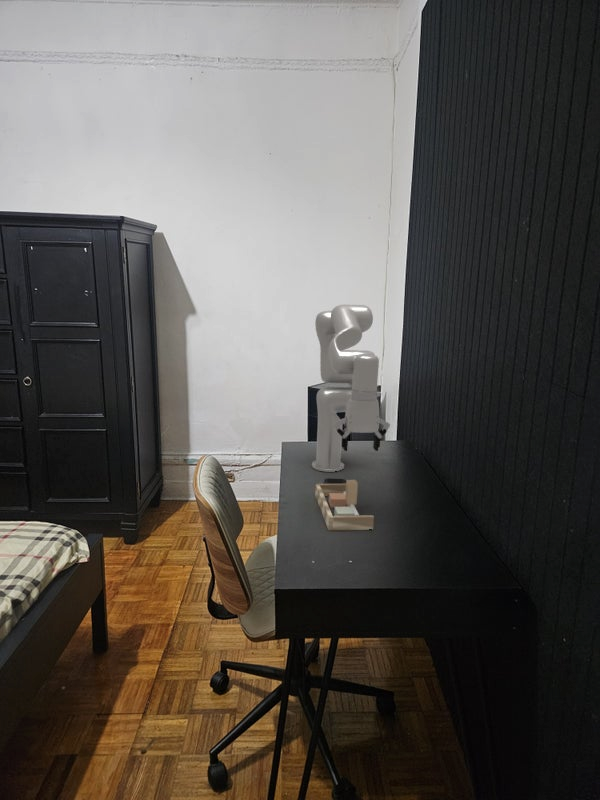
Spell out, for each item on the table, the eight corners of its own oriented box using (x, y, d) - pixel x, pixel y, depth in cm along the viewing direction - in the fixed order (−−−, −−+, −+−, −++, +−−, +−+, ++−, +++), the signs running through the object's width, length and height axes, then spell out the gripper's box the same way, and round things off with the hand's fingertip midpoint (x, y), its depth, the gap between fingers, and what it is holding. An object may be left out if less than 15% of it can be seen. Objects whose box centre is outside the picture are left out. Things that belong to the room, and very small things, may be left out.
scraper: (340, 500, 177) (341, 471, 175) (349, 500, 178) (350, 471, 176) (351, 524, 160) (353, 492, 158) (361, 523, 160) (363, 492, 158)
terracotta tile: (328, 501, 176) (328, 493, 175) (343, 501, 176) (343, 493, 176) (330, 508, 171) (331, 499, 170) (345, 508, 171) (346, 499, 171)
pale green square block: (334, 515, 165) (334, 506, 165) (349, 515, 166) (350, 506, 165) (337, 523, 160) (337, 513, 160) (353, 522, 161) (354, 513, 160)
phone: (345, 479, 194) (348, 495, 179) (345, 482, 194) (348, 498, 180) (324, 478, 194) (325, 494, 180) (324, 481, 194) (325, 497, 180)
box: (315, 495, 180) (315, 483, 179) (353, 494, 182) (354, 483, 181) (328, 530, 155) (329, 517, 154) (373, 529, 156) (373, 516, 156)
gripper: (388, 393, 166) (384, 445, 169) (333, 392, 164) (330, 445, 167) (395, 398, 158) (391, 453, 162) (338, 397, 156) (334, 453, 160)
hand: (360, 449), depth 165 cm, fingers open, 9 cm apart
